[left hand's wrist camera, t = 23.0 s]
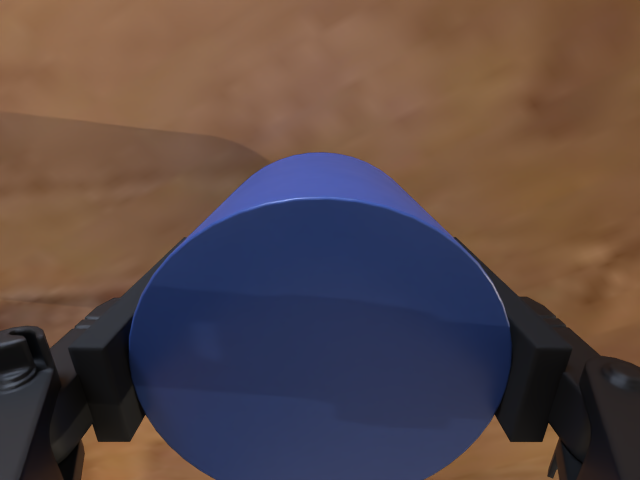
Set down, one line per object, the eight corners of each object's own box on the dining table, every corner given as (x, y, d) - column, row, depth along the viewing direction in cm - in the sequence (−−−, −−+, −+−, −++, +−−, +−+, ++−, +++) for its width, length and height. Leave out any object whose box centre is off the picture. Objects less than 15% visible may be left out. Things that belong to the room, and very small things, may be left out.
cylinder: (189, 304, 16) (92, 450, 9) (258, 112, 13) (190, 115, 6) (365, 368, 17) (395, 536, 10) (465, 207, 14) (598, 298, 7)
